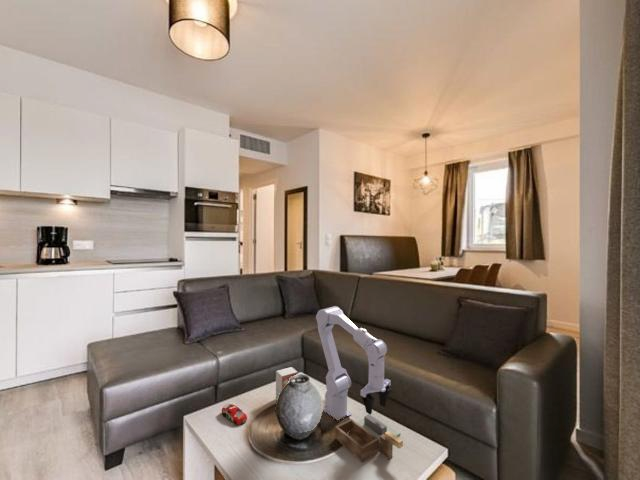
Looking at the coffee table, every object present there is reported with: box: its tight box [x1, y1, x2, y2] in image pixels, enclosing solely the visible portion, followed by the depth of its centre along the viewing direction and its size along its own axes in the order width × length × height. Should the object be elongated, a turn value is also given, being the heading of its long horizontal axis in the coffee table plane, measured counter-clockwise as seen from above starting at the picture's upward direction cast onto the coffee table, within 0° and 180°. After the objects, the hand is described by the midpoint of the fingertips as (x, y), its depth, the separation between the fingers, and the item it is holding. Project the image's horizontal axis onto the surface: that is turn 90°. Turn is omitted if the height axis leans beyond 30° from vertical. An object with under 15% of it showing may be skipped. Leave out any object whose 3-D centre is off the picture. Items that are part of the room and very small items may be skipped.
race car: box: [221, 403, 248, 426], centre depth 123 cm, size 13×5×4 cm, turn 48°
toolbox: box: [334, 418, 394, 463], centre depth 107 cm, size 18×10×6 cm, turn 37°
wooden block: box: [385, 431, 404, 449], centre depth 101 cm, size 6×2×2 cm, turn 37°
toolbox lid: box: [356, 413, 401, 446], centre depth 114 cm, size 14×10×5 cm
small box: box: [275, 366, 299, 400], centre depth 137 cm, size 8×6×13 cm
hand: (375, 409), depth 114 cm, fingers open, 7 cm apart
